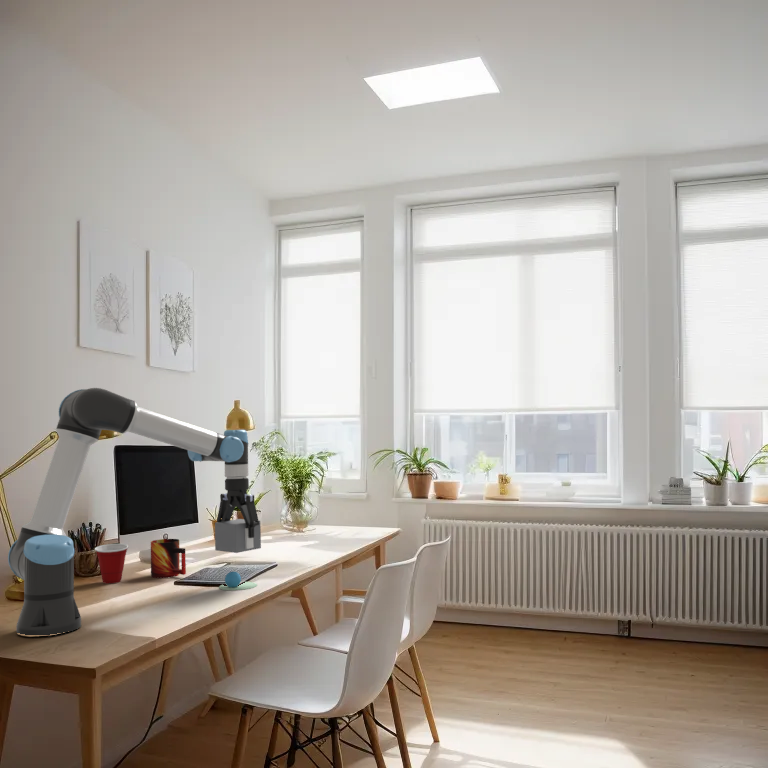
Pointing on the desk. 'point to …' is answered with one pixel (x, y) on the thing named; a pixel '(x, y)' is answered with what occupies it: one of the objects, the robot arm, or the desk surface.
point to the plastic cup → (111, 561)
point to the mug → (167, 558)
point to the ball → (232, 579)
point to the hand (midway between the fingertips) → (238, 546)
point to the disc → (241, 587)
